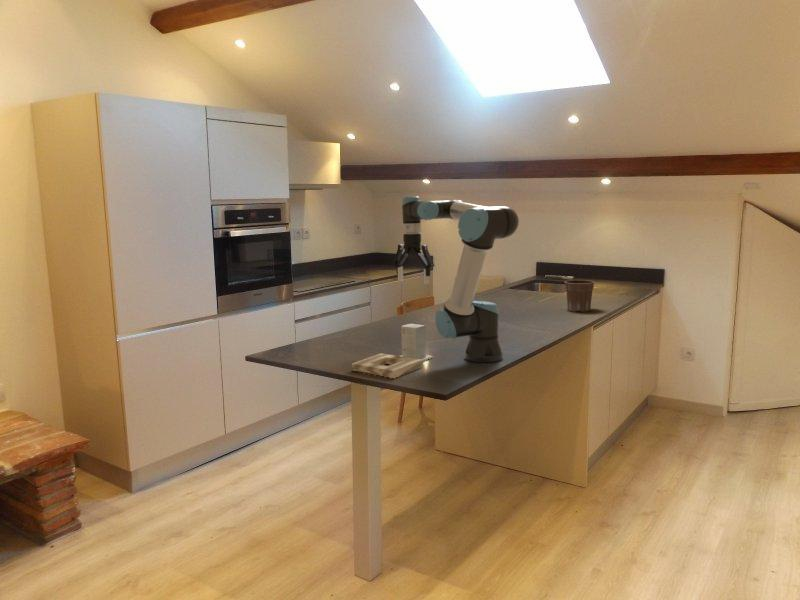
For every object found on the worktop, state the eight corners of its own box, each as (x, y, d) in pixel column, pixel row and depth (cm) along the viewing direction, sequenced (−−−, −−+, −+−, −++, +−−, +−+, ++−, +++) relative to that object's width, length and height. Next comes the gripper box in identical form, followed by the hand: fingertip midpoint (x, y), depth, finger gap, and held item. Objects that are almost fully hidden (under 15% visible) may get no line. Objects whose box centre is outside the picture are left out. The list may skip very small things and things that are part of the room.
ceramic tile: (433, 357, 256) (433, 355, 256) (419, 363, 248) (419, 361, 248) (409, 354, 263) (409, 352, 263) (395, 359, 255) (394, 357, 255)
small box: (426, 356, 255) (425, 325, 253) (416, 359, 250) (415, 328, 248) (411, 353, 260) (410, 323, 258) (401, 357, 256) (400, 325, 254)
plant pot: (575, 306, 360) (575, 278, 357) (600, 309, 347) (600, 281, 345) (558, 310, 349) (558, 281, 347) (582, 314, 337) (583, 284, 334)
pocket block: (421, 367, 242) (421, 359, 242) (393, 378, 228) (393, 370, 228) (381, 360, 254) (380, 353, 254) (352, 371, 240) (351, 363, 240)
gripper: (383, 233, 270) (385, 282, 273) (431, 234, 255) (432, 285, 258) (393, 232, 275) (395, 280, 279) (441, 233, 261) (442, 283, 264)
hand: (413, 283), depth 269 cm, fingers open, 13 cm apart
